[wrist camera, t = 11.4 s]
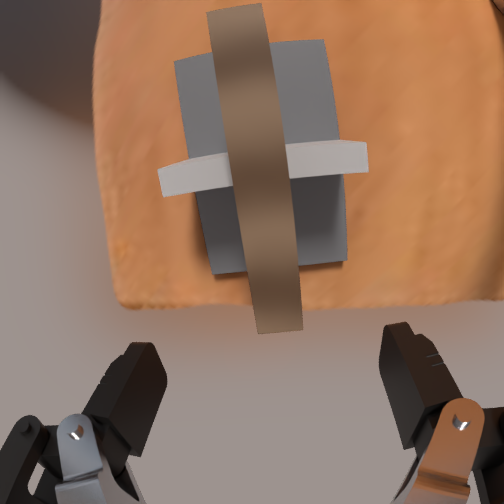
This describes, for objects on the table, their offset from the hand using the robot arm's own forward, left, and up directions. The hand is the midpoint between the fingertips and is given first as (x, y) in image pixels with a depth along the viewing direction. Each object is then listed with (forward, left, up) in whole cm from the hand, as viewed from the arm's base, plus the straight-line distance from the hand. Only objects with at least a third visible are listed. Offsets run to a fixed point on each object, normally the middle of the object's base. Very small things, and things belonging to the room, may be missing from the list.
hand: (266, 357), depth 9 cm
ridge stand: (-5, 0, -21) cm, 22 cm away
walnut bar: (-5, 0, -12) cm, 13 cm away
